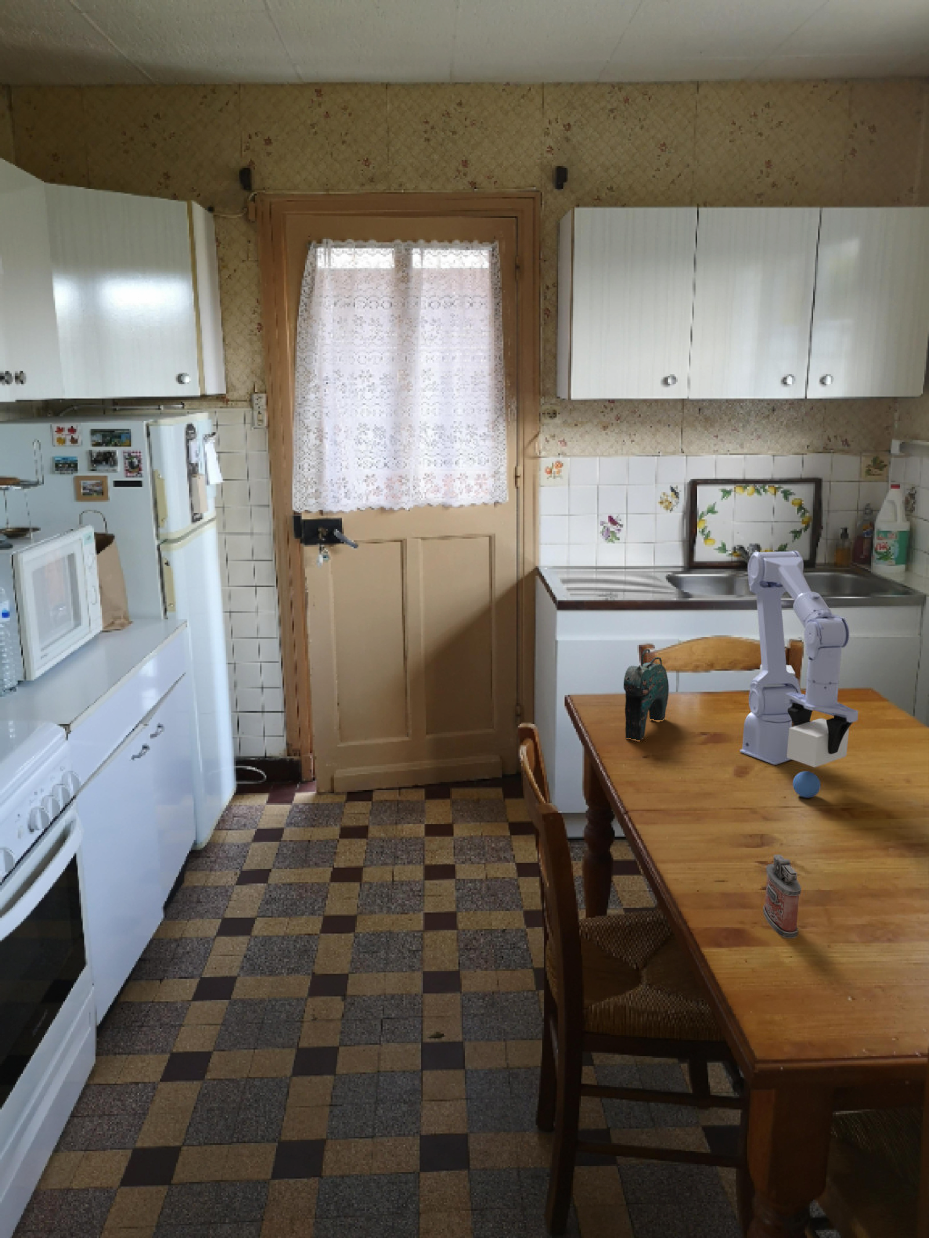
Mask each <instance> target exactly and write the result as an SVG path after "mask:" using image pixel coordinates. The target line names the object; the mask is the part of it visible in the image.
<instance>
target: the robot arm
mask: <svg viewBox="0 0 929 1238" xmlns="http://www.w3.org/2000/svg"><path fill="white" fill-rule="evenodd" d="M747 576H748V577H747V578H748V579H747V580H748V585H749V591H750V593H753V594H755V597H756V608H757V609H756V610H757V620H758V634H759V635H758V636H759V646H760V659H761V664H762V672H761V673H760V672H759V674H757V675H756V676H755V677H754V678H753V679H752V680H751V681H750V683H749V695H748V705H749V710H750V713H748V714H747V716H746V718H745V720H744V723H743V733H742V735H743V736H742V748H741V749H739V752H740V753H742V754H744V755H747V756H750V757H752V758H755V759H757V760H760V761H763V762H766V763H768V764H771V765H774V766H775V765H776V766H777V765H779V764H782V763H785V762H788V761H791V760H792V759H790V758H787V749H788V737H789V728H791V727H794V726H797V725H801V724H804V723H807V722H810V721H811V718H812V715H813V712H814V711H816V712H819V713H822V714H825V715H829V716H833V717H831V718H827V719H825V720H826V723H827V727H828V736H829V739H828V753H829V754H834V753H837V752H838V749H839V746H840V743H841V741H842V739H843V736H844V735H845V733H846V731H847V730H848V728H849V729H850V727H851V725H852V724H853V723H854V722H858V717H859V716H858V715H859V711H858V710H856V709H853V708H851V707H848V706H847V705H844V704H842V703H841V702H839V701H838V696H839V695H838V694H839V683H840V672H841V661H842V649H843V648H845V647H846V646H847V645H848V643H849V640H850V627H849V625H848V622H847V619H846V618H845V617H843V616H838V615H837V614H834V613H833V612H832V611H831V609H830V607H829V606H828V604H827V603H826V602H825V600H824V598H823V597H822V596H821V594H820V593H818V592H815V591H812V590H811V587H810V586H809V584H808V581H807V580H806V578H805V575H804V559H803V557H802V555H801V553H800V552H799V551H797V550H791V551H764V552H763V551H760V552H759V551H754V552H753V553H752V554H751V555H750V557H749V560H748V564H747ZM784 593H788V595H789V596H790V597H791V598H792V599H793V601H794V602H793V606H792V609H793V612H794V613H795V615H796V617H797V618H798V620H799V621H800V623H801V625H802V626H803V628H804V632H803V636H804V640H805V652H806V656H808V658H807V659H808V660H807V671H806V672H807V673H806V687H805V694H804V693H802V691H801V688H800V682H799V681H800V680H799V679H798V678H797V677H796V676H795V677H794V676H793V675H791V674H790V673H789V672H788V671H787V668H786V665H787V659H786V647H785V633H784V622H783V621H784V620H783V609H782V608H783V607H782V596H783V595H784ZM770 684H782V685H784V686H778V687H764V686H765V685H770Z"/></svg>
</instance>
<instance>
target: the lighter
mask: <svg viewBox="0 0 929 1238" xmlns="http://www.w3.org/2000/svg"><path fill="white" fill-rule="evenodd" d="M765 867H766V868H765V869H766V871H765V872H766V885H765V886H766V888H765V900H764V905H763V907H762V908H763V910H762V911H763V912H762V913H763V915H764V918H765V920H766V921H767V923H768V924H769V926H770V927H771V928H772V929H773V931H775V932H776V933H777V934H778V935H779V936H781V937H782V938H786V939H794V938H797V936H798V932H799V929H798V926H797V925H798V915H799V914H798V912H799V900H800V899H799V898H800V895H801V892H802V887H801V884H800V883H799V881H798V873H797V872H796V870H795V869H794V868H793V867H792V865H791V862H790V859H789V858H784V857H783V855H781V854H774V855H773V863H770V864H767V865H766V866H765Z"/></svg>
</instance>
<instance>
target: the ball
mask: <svg viewBox="0 0 929 1238" xmlns="http://www.w3.org/2000/svg"><path fill="white" fill-rule="evenodd" d="M792 787H793V790H794V791H795V793H796V794H797V795H798V796H800V797H801V798H802V797H803V798H807V799H808V798H809V799H810V798H813V797H815V796H817V794H818V793H819V792H820V789H821V781H820V779H819V777H818V776H817V775H816V774H815V773H814V772H810V771H807V770H806V771H805V770H804V771H801V772H799V773H797V774H796V775H795V776H794V777H793V780H792Z"/></svg>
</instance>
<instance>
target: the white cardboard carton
mask: <svg viewBox="0 0 929 1238" xmlns="http://www.w3.org/2000/svg"><path fill="white" fill-rule="evenodd" d="M826 720H827V719H825V718H821V717H820V718H818V719H814V720H810V722H807V723H804V724H801V725H797V726H794V725H793V726H792V727H791V728H789V737H788V749H787V758H790V759H791V760H793V761H796V762H799V763H801V764H804V765H806V766H810V767H813V768H817V767H819V766H823V765H826V764H828V763H831V762H835V761H836V760H839V759H843V758H845V757H847V754H848V753H847V752H848V743H849V733H850V732H849V730H850V727H849V728H848V730H847V731H846V733H845V735H844V736H843V739H842V741H841V743H840V746H839V749H838V752H837V753H834V754H829V753H828V739H829V736H828V727H827V723H826Z"/></svg>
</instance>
